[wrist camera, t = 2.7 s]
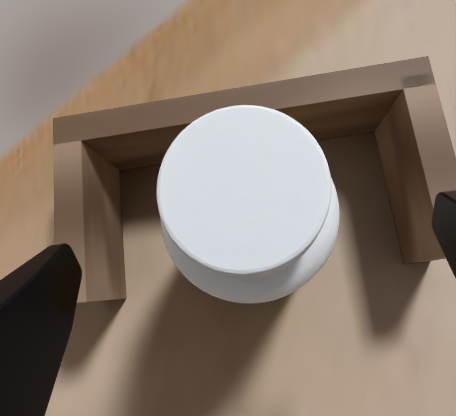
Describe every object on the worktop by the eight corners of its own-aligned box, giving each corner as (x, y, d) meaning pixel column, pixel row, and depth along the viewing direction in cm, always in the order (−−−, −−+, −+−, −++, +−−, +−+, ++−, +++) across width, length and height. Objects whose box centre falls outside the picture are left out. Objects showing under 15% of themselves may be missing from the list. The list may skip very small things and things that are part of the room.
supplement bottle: (185, 207, 18) (98, 122, 9) (287, 169, 18) (309, 43, 9) (220, 313, 17) (162, 346, 8) (330, 274, 17) (410, 258, 7)
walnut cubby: (431, 260, 17) (481, 252, 13) (102, 301, 18) (55, 305, 14) (394, 105, 18) (428, 56, 14) (95, 152, 19) (52, 118, 16)
